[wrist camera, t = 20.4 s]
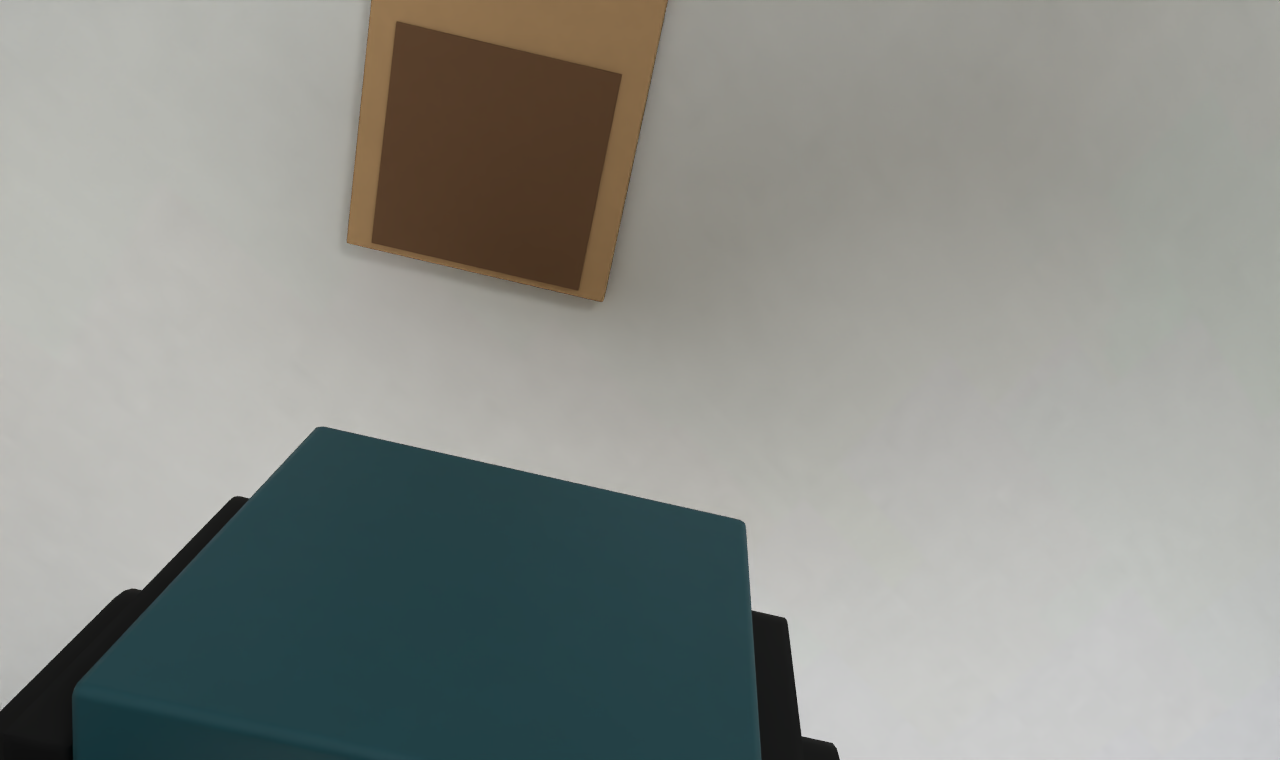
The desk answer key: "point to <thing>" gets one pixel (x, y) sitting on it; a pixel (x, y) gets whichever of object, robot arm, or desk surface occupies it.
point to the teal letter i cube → (437, 624)
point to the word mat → (503, 134)
